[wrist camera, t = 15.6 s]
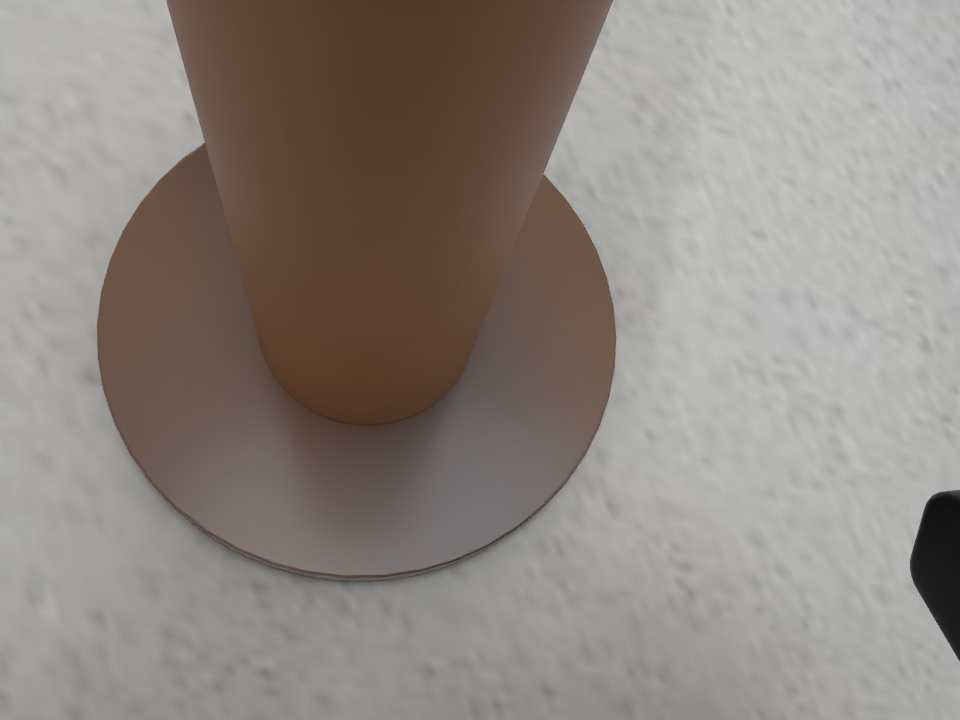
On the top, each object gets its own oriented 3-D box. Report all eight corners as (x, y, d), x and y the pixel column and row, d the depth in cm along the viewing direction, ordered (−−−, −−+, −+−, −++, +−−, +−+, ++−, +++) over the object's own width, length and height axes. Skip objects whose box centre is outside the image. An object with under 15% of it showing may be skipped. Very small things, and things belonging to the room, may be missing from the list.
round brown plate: (335, 703, 18) (334, 705, 17) (-3, 295, 20) (-17, 281, 19) (701, 356, 22) (714, 344, 21) (391, 41, 24) (393, 21, 23)
